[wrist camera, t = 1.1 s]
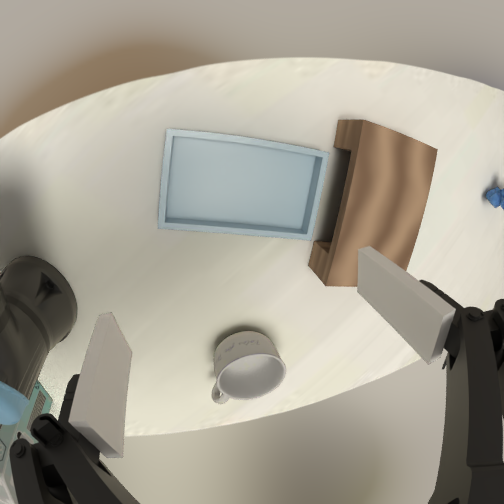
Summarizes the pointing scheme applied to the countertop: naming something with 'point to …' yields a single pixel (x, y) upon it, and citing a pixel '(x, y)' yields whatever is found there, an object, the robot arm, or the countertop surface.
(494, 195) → the grapes
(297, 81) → the countertop surface
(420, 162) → the shelf
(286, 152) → the tray
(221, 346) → the teacup
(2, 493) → the device
